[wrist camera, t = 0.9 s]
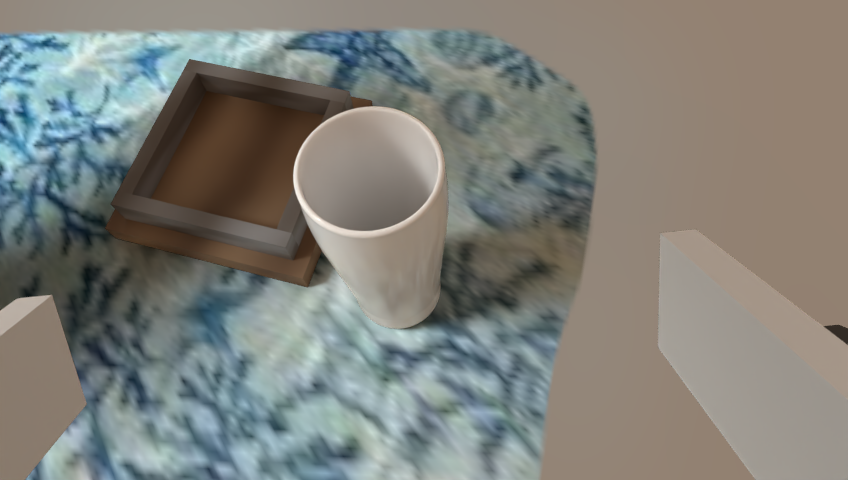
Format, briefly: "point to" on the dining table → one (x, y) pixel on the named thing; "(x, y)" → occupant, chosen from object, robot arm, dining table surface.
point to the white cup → (378, 209)
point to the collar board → (228, 172)
